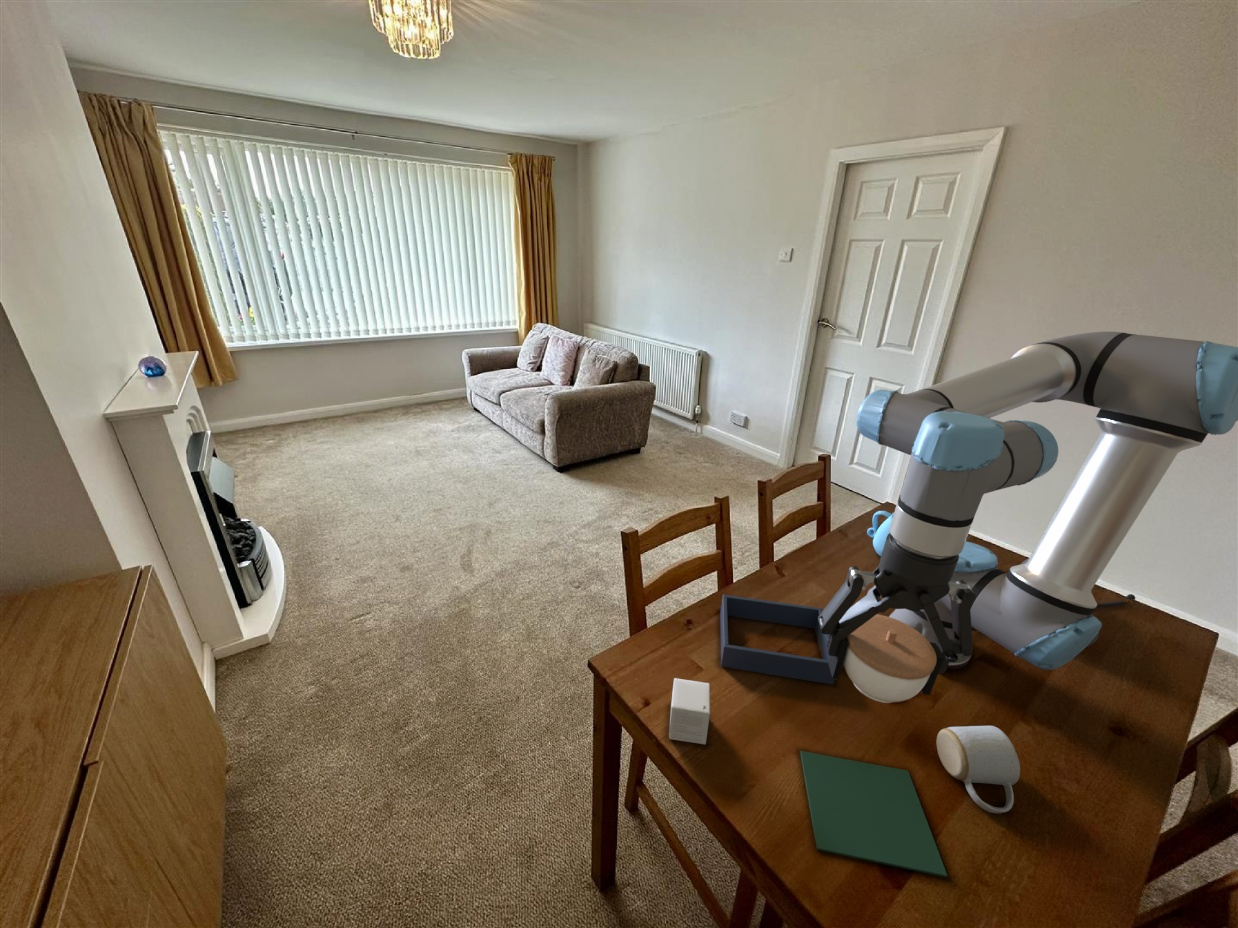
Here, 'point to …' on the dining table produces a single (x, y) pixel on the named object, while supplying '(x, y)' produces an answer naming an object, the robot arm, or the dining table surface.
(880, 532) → the decorative pot
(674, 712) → the product box
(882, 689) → the trinket box
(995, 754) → the ceramic mug
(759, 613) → the storage box
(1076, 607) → the robot arm
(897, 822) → the mat
